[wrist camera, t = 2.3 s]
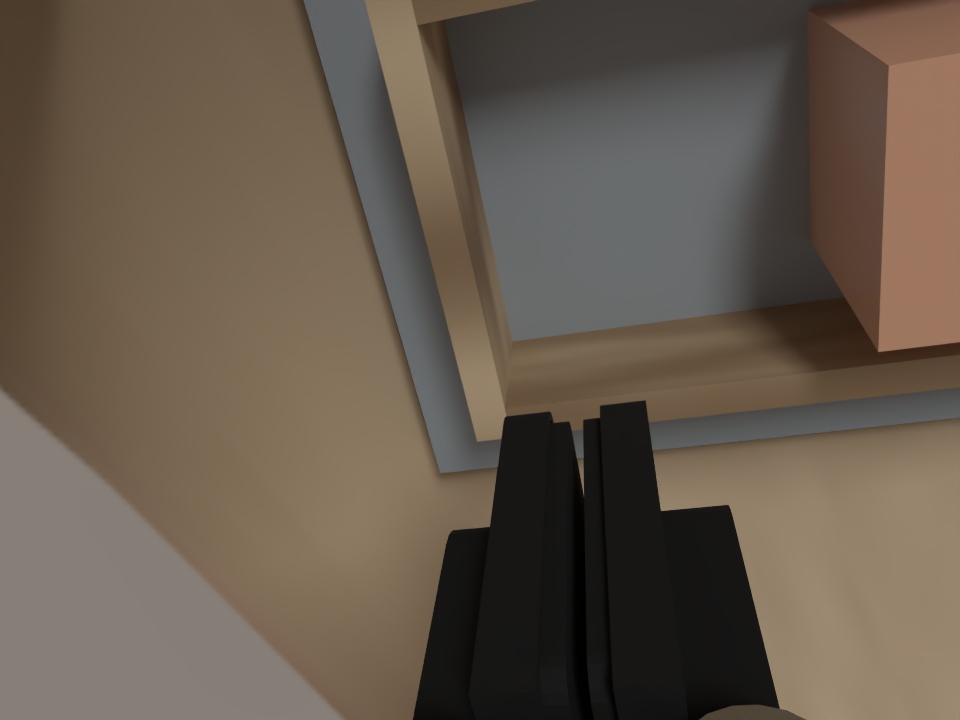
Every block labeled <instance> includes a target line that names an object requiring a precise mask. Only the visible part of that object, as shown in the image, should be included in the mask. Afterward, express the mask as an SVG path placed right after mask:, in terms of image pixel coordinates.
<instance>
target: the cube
mask: <svg viewBox="0 0 960 720" xmlns="http://www.w3.org/2000/svg"><path fill="white" fill-rule="evenodd" d="M808 77H809V183H810V241H811V242H812V244H813V246H814V247H815V249H816V251H817V252H818V254H819V256H820V257H821V259H822V260H823V262H824V264H825V265H826V267H827V269H828V270H829V272H830V274H831V275H832V277H833V279H834V280H835V282H836V283H837V285H838V287H839V288H840V290H841V292H842V293H843V295H844V297H845V298H846V300H847V301H848V303H849V305H850V306H851V308H852V310H853V311H854V313H855V315H856V316H857V318H858V320H859V321H860V323H861V324H862V326H863V328H864V329H865V331H866V333H867V334H868V336H869V338H870V339H871V341H872V343H873V344H874V346H875V347H876V349H877V351H878V352H883V351H891V350H899V349H908V348H916V347H924V346H932V345H940V344H949V343H957V342H960V0H855V1H850V2H845V3H839V4H834V5H829V6H824V7H819V8H814V9H808Z"/></svg>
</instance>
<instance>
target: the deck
mask: <svg viewBox="0 0 960 720" xmlns="http://www.w3.org/2000/svg"><path fill="white" fill-rule="evenodd" d="M850 1H855V0H537V1H532V2H527V3H522V4H517V5H513V6H508V7H503V8H498V9H493V10H488V11H484V12H479V13H474V14H469V15H464V16H459V17H454V18H450V19H445V20H444V23H445V27H446V32H447V37H448V41H449V46H450V51H451V55H452V60H453V65H454V70H455V74H456V79H457V84H458V88H459V93H460V98H461V102H462V107H463V112H464V116H465V121H466V126H467V130H468V135H469V140H470V145H471V149H472V154H473V159H474V163H475V168H476V173H477V177H478V182H479V187H480V191H481V196H482V201H483V206H484V210H485V215H486V220H487V224H488V229H489V234H490V238H491V243H492V248H493V252H494V257H495V262H496V266H497V271H498V276H499V281H500V285H501V290H502V295H503V299H504V304H505V309H506V313H507V318H508V323H509V327H510V332H511V337H512V341H521V340H528V339H536V338H543V337H551V336H558V335H566V334H573V333H581V332H588V331H596V330H603V329H610V328H618V327H625V326H633V325H640V324H648V323H655V322H663V321H670V320H678V319H685V318H693V317H700V316H708V315H715V314H723V313H730V312H738V311H745V310H753V309H760V308H768V307H775V306H783V305H790V304H798V303H805V302H813V301H820V300H827V299H835V298H842V297H844V295H843V293H842V292H841V290H840V288H839V287H838V285H837V283H836V282H835V280H834V279H833V277H832V275H831V274H830V272H829V270H828V269H827V267H826V265H825V264H824V262H823V260H822V259H821V257H820V256H819V254H818V252H817V251H816V249H815V247H814V246H813V244H812V242H811V241H810V183H809V77H808V9H814V8H819V7H824V6H829V5H834V4H839V3H845V2H850ZM304 4H305V7H306V11H307V14H308V18H309V21H310V25H311V28H312V32H313V35H314V38H315V42H316V45H317V49H318V52H319V56H320V59H321V63H322V66H323V70H324V73H325V77H326V80H327V83H328V87H329V90H330V94H331V97H332V101H333V104H334V108H335V111H336V115H337V118H338V122H339V125H340V129H341V132H342V135H343V139H344V142H345V146H346V149H347V153H348V156H349V160H350V163H351V167H352V170H353V174H354V177H355V180H356V184H357V187H358V191H359V194H360V198H361V201H362V205H363V208H364V212H365V215H366V219H367V222H368V225H369V229H370V232H371V236H372V239H373V243H374V246H375V250H376V253H377V257H378V260H379V264H380V267H381V271H382V274H383V277H384V281H385V284H386V288H387V291H388V295H389V298H390V302H391V305H392V309H393V312H394V316H395V319H396V322H397V326H398V329H399V333H400V336H401V340H402V343H403V347H404V350H405V354H406V357H407V361H408V364H409V368H410V371H411V374H412V378H413V381H414V385H415V388H416V392H417V395H418V399H419V402H420V406H421V409H422V413H423V416H424V419H425V423H426V426H427V430H428V433H429V437H430V440H431V444H432V447H433V451H434V454H435V458H436V461H437V464H438V468H439V471H440V473H448V472H457V471H467V470H476V469H485V468H495V467H498V462H499V454H500V446H501V439H497V440H488V441H479V442H477V439H476V435H475V431H474V427H473V423H472V419H471V416H470V412H469V408H468V404H467V400H466V396H465V392H464V388H463V384H462V380H461V376H460V372H459V368H458V365H457V361H456V357H455V353H454V349H453V345H452V341H451V337H450V333H449V329H448V325H447V321H446V317H445V314H444V310H443V306H442V302H441V298H440V294H439V290H438V286H437V282H436V278H435V274H434V270H433V266H432V262H431V259H430V255H429V251H428V247H427V243H426V239H425V235H424V231H423V227H422V223H421V219H420V215H419V211H418V208H417V204H416V200H415V196H414V192H413V188H412V184H411V180H410V176H409V172H408V168H407V164H406V160H405V157H404V153H403V149H402V145H401V141H400V137H399V133H398V129H397V125H396V121H395V117H394V113H393V109H392V106H391V102H390V98H389V94H388V90H387V86H386V82H385V78H384V74H383V70H382V66H381V62H380V58H379V55H378V51H377V47H376V43H375V39H374V35H373V31H372V27H371V23H370V19H369V15H368V11H367V7H366V3H365V0H304ZM954 418H960V387H958V388H949V389H940V390H931V391H922V392H913V393H904V394H896V395H887V396H878V397H869V398H860V399H851V400H842V401H833V402H825V403H816V404H807V405H798V406H789V407H780V408H771V409H763V410H754V411H745V412H736V413H727V414H718V415H709V416H701V417H692V418H683V419H674V420H665V421H656V422H649V428H650V435H651V443H652V450H653V451H654V450H663V449H673V448H682V447H691V446H701V445H710V444H720V443H729V442H738V441H748V440H757V439H766V438H776V437H785V436H794V435H804V434H813V433H823V432H832V431H841V430H851V429H860V428H869V427H879V426H888V425H897V424H907V423H916V422H926V421H935V420H944V419H954ZM572 434H573V440H574V445H575V451H576V456H577V459H579V458H584V451H583V430H576V431H572Z"/></svg>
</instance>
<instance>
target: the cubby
mask: <svg viewBox="0 0 960 720" xmlns="http://www.w3.org/2000/svg"><path fill="white" fill-rule="evenodd" d="M532 1H537V0H365V3H366V7H367V11H368V15H369V19H370V23H371V27H372V31H373V35H374V39H375V43H376V47H377V51H378V55H379V58H380V62H381V66H382V70H383V74H384V78H385V82H386V86H387V90H388V94H389V98H390V102H391V106H392V109H393V113H394V117H395V121H396V125H397V129H398V133H399V137H400V141H401V145H402V149H403V153H404V157H405V160H406V164H407V168H408V172H409V176H410V180H411V184H412V188H413V192H414V196H415V200H416V204H417V208H418V211H419V215H420V219H421V223H422V227H423V231H424V235H425V239H426V243H427V247H428V251H429V255H430V259H431V262H432V266H433V270H434V274H435V278H436V282H437V286H438V290H439V294H440V298H441V302H442V306H443V310H444V314H445V317H446V321H447V325H448V329H449V333H450V337H451V341H452V345H453V349H454V353H455V357H456V361H457V365H458V368H459V372H460V376H461V380H462V384H463V388H464V392H465V396H466V400H467V404H468V408H469V412H470V416H471V419H472V423H473V427H474V431H475V435H476V439H477V442H479V441H488V440H497V439H501V438H502V430H503V423H504V418H505V417H506V416H514V415H522V414H531V413H540V412H548V411H550V412H551V414H552V417H553V421H554V423H558V422H567V421H569V422H570V425H571V429H572V431H576V430H583V420H584V419H593V418H600V405H608V404H617V403H625V402H634V401H643V400H646V406H647V413H648V421H649V422H656V421H665V420H674V419H683V418H692V417H701V416H709V415H718V414H727V413H736V412H745V411H754V410H763V409H771V408H780V407H789V406H798V405H807V404H816V403H825V402H833V401H842V400H851V399H860V398H869V397H878V396H887V395H896V394H904V393H913V392H922V391H931V390H940V389H949V388H958V387H960V342H957V343H949V344H940V345H932V346H924V347H916V348H908V349H899V350H891V351H883V352H878V351H877V349H876V347H875V346H874V344H873V343H872V341H871V339H870V338H869V336H868V334H867V333H866V331H865V329H864V328H863V326H862V324H861V323H860V321H859V320H858V318H857V316H856V315H855V313H854V311H853V310H852V308H851V306H850V305H849V303H848V301H847V300H846V298H845V297H842V298H835V299H827V300H820V301H813V302H805V303H798V304H790V305H783V306H775V307H768V308H760V309H753V310H745V311H738V312H730V313H723V314H715V315H708V316H700V317H693V318H685V319H678V320H670V321H663V322H655V323H648V324H640V325H633V326H625V327H618V328H610V329H603V330H596V331H588V332H581V333H573V334H566V335H558V336H551V337H543V338H536V339H528V340H521V341H512V337H511V332H510V327H509V323H508V318H507V313H506V309H505V304H504V299H503V295H502V290H501V285H500V281H499V276H498V271H497V266H496V262H495V257H494V252H493V248H492V243H491V238H490V234H489V229H488V224H487V220H486V215H485V210H484V206H483V201H482V196H481V191H480V187H479V182H478V177H477V173H476V168H475V163H474V159H473V154H472V149H471V145H470V140H469V135H468V130H467V126H466V121H465V116H464V112H463V107H462V102H461V98H460V93H459V88H458V84H457V79H456V74H455V70H454V65H453V60H452V55H451V51H450V46H449V41H448V37H447V32H446V27H445V23H444V20H445V19H450V18H454V17H459V16H464V15H469V14H474V13H479V12H484V11H488V10H493V9H498V8H503V7H508V6H513V5H517V4H522V3H527V2H532Z"/></svg>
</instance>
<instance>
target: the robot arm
mask: <svg viewBox="0 0 960 720" xmlns="http://www.w3.org/2000/svg"><path fill="white" fill-rule="evenodd" d="M583 451H584V495H583V489H582V484H581V478H580V473H579V467H578V462H577V456H576V451H575V445H574V440H573V434H572V429H571V425H570V422H569V421H567V422H558V423H554V421H553V417H552V414H551V412H550V411H548V412H540V413H531V414H522V415H514V416H506V417H505V418H504V423H503V430H502V438H501V446H500V454H499V462H498V469H497V477H496V485H495V493H494V501H493V508H492V516H491V524H490V527H485V528H475V529H464V530H453V531H452V532H451V533H450V534H449V537H448V540H447V544H446V548H445V554H444V559H443V564H442V569H441V575H440V580H439V585H438V591H437V596H436V601H435V606H434V612H433V617H432V622H431V627H430V633H429V638H428V643H427V648H426V654H425V659H424V664H423V669H422V675H421V680H420V685H419V690H418V696H417V701H416V706H415V711H414V717H413V720H806V719H804V718H802V717H799V716H797V715H795V714H793V713H791V712H789V711H787V710H782V709H780V708H779V704H778V700H777V695H776V691H775V687H774V683H773V679H772V675H771V671H770V667H769V663H768V659H767V655H766V651H765V647H764V643H763V638H762V634H761V630H760V626H759V622H758V618H757V614H756V610H755V606H754V602H753V598H752V594H751V590H750V586H749V581H748V577H747V573H746V569H745V565H744V561H743V557H742V553H741V549H740V545H739V541H738V537H737V533H736V529H735V524H734V520H733V517H732V513H731V510H730V507H729V505H723V506H712V507H701V508H691V509H680V510H669V511H661V509H660V502H659V495H658V487H657V480H656V472H655V465H654V458H653V450H652V443H651V435H650V428H649V421H648V413H647V406H646V400H643V401H634V402H625V403H617V404H608V405H600V418H593V419H584V420H583Z"/></svg>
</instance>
